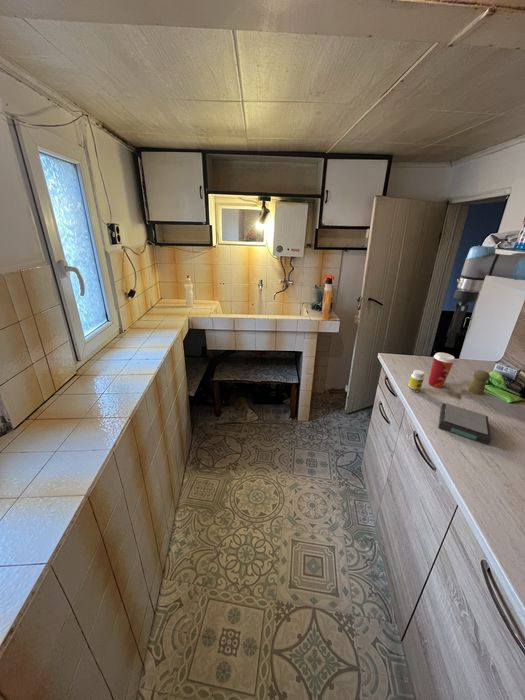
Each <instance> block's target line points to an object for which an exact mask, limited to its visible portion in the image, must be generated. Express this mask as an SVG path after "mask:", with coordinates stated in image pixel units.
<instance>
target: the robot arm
mask: <svg viewBox="0 0 525 700" xmlns="http://www.w3.org/2000/svg"><path fill="white" fill-rule="evenodd" d="M487 276H488V277H494V278H495V277H497V278H501V279H502V278H503V279H509V280H515V281H517V280H518V281H525V252H515V253H512V254H501V253H496V248H495V247H494V246H484V245H483V246H481V245H474V246H471V248H469V251H468V254H467V256H466V258H465V261H464V263H463V267H462V269H461V274H460V276H459V279H457V280H456V282H457V286H456V287H457V288H456V289H455V291H454V294H453V300H456V301H458V303H457V302H456V303H455V309H454V313H453V315H452V318H451V321H450V325H449V327H448V330H447V333H446V337H447V338H446V341H445V344H444V347H446V348H451V349H454V347H455V344H456V341H457V339H458V336H459V333H460V332H461V328H462V325H463V321H464V318H465V317H466V314H467V312H468V310H469V304H468V303H476V302H477V300H478V298H479V295H480V291H481V290H482V288H483V285H484V283H485V280H486V277H487Z"/></svg>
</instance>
